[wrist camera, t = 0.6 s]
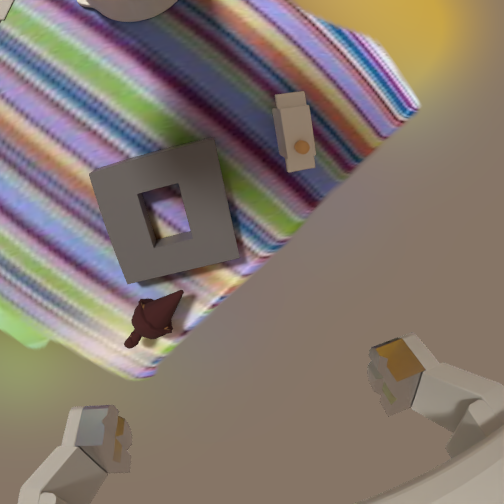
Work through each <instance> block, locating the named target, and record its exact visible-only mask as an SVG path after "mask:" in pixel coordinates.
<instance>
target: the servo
mask: <svg viewBox="0 0 504 504" xmlns="http://www.w3.org/2000/svg"><path fill="white" fill-rule="evenodd" d="M274 96H275V102H276V107H277V108H273V109H272V114H273V119H274V125H275V131H276V137H277V143H278V149H279V155H281V156H283V157H284V158H285V162H286V169H287V172H288V173H289V172H294V171H299V170H305V169H310V168H315V161H314V155H316V150H315V143H314V136H313V128H312V122H311V115H310V108H309V105H306V98H305V92H304V91H300V92H292V93H284V94H277V95H274Z"/></svg>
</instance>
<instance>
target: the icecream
mask: <svg viewBox="0 0 504 504" xmlns="http://www.w3.org/2000/svg"><path fill="white" fill-rule="evenodd" d="M183 293H184V292H183V290H180V291H177V292H174V293H172V294H170V295H167V296H164V297H162V298H159V299H157V300H152V299H140V301H139V305H138V306H137V307H136V309H135V312H134V315H133V317H132V325H133V326H134V328H135V329H134V331H133V332H132V333H131V335H130V336H129V337H128V339H127V340H126V341H125V343H124V345H125V347H127V348H129V349H130V348H133V347H135V346H136V345H137V344H138V343H139V341H140V339H141V337H145V338H149V339H156V338H158V337H160V336H163V335H165V334H167V333H172V329H173V328H172V322H171V319H172V316H173V314H174V312H175V310H176V308H177V306H178V303H179V301H180V299H181V297H182V295H183Z"/></svg>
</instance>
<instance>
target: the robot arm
mask: <svg viewBox="0 0 504 504" xmlns="http://www.w3.org/2000/svg"><path fill="white" fill-rule="evenodd" d="M176 1H177V0H77V2H78V3H79V5H81V6H84V7H89V8H94V9H96V10H98V11H99V12H100V13H101V14H103V15H104V16H106V17H108V18H110V19H113V20H116V21H121V22H135V21H141V20H145V19H149V18H151V17H154V16H156V15H158V14H160V13H162V12H164V11H165V10H167V9H168V8H170V7H171V6H172V5H173V4H174V3H175V2H176ZM369 357H370V359H371V360H372V361H371V362H370V363H369V365H368V370H367V373H368V379H369V382H370V385H371V387H372V389H373V391H374V392H376V393H378V394H380V395H381V398H380V403H381V405H382V406H383V408H384V410H385V412H386V414H387V415H388V416H391V415H393V414H396V413H398V412H401V411H403V410H406V409H408V408H411V409H413V410H414V411H416V412H418V413H419V414H421V415H423V416H425V417H426V418H428V419H430V420H432V421H433V422H435V423H437V424H439V425H440V426H442V427H444V428H446V429H448V430H449V431H451V432H453V435H452V436H451V438H450V440H449V441H448V443H447V445H446V450H447V452H448V453H449V455H450V457H451V459H450V460H448V461H447V462H445V463H443V464H441V465H439V466H437V467H435V468H434V469H432V470H430V471H428V472H426V473H424V474H422V475H420V476H418V477H416V478H414V479H412V480H410V481H408V482H405V483H403V484H401V485H399V486H397V487H394V488H392V489H390V490H387V491H385V492H383V493H380V494H378V495H375V496H373V497H370V498H368V499H365V500H362V501H360V502H357V503H354V504H504V386H503V385H502V384H500V383H498V382H495V381H492V380H489V379H487V378H484V377H481V376H479V375H476V374H473V373H470V372H468V371H465V370H463V369H460V368H457V367H454V366H452V365H449V364H447V363H441V364H440V363H439V362H438V361H437V360H436V358H435V357H434V356H433V354H432V353H431V352H430V351H429V350H428V348H427V347H426V346H425V345H424V344H423V343H422V341H421V340H420V339H419V338H418V336H417V335H416V334H415V333H413V332H411V333H409V334H407V335H404V336H401V337H399V338H395V339H392V340H390V341H387V342H384V343H382V344H379V345H377V346H374V347H371V349H370V350H369ZM118 413H119V411H118V409H117V408H116V407H115V406H114V405H101V406H83V407H72V409H71V410H70V412H69V416H68V420H67V424H66V428H65V432H64V437H63V441H62V445H61V446H58V447H57V448H56V449H55V450H54V451H53V452H52V453H51V455H50V456H49V457H48V458H47V459H46V460H45V461H44V462H43V463H42V464H41V466H40V467H39V468H38V469H37V470H36V471H35V472H34V473H33V475H32V476H31V477H30V478H29V479H28V480H27V481H26V482H25V483H24V485H23V486H22V487H21V490H20V495H19V500H18V504H90V503H91V501H92V500H93V498H94V496H95V495H96V493H97V492H98V490H99V488H100V487H101V485H102V484H103V482H104V480H105V479H106V477H107V476H108V474H107V473H128V472H130V463H131V455H130V454H129V452H128V451H127V450H128V449H129V447H130V446H131V445H132V434H131V429H130V426H129V424H128V422H127V421H126V420H125V419H124V418H122V417H120V416H118Z"/></svg>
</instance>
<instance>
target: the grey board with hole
mask: <svg viewBox="0 0 504 504" xmlns="http://www.w3.org/2000/svg"><path fill="white" fill-rule="evenodd" d="M89 176H90V179H91V183H92V186H93V189H94V192H95V196H96V199H97V202H98V205H99V208H100V211H101V214H102V217H103V220H104V223H105V226H106V229H107V231H108V234H109V237H110V240H111V243H112V245H113V248H114V251H115V253H116V256H117V259H118V261H119V264H120V266H121V269H122V272H123V274H124V277H125V279H126V281H127V284H131V283H135V282H139V281H143V280H148V279H152V278H156V277H161V276H165V275H169V274H173V273H178V272H182V271H186V270H190V269H195V268H199V267H203V266H207V265H212V264H216V263H220V262H224V261H229V260H233V259H237V258H240V257H239V252H238V247H237V243H236V238H235V234H234V229H233V225H232V220H231V215H230V211H229V206H228V201H227V197H226V192H225V187H224V183H223V178H222V173H221V169H220V164H219V159H218V154H217V150H216V145H215V140H214V138H213V137H211V138H207V139H202V140H198V141H194V142H189V143H185V144H181V145H177V146H173V147H169V148H166V149H162V150H158V151H154V152H151V153H147V154H144V155H140V156H137V157H133V158H130V159H126V160H123V161H120V162H117V163H113V164H110V165H107V166H104V167H101V168H98V169H95V170H94V171H92V172H91V173H89ZM176 183H178V184H179V188H180V191H181V195H182V199H183V203H184V207H185V211H186V214H187V218H188V222H189V226H190V229H191V231H190V232H185V233H181V234H177V235H173V236H169V237H165V238H161V239H157V240H156V238H155V235H154V232H153V228H152V225H151V222H150V219H149V215H148V212H147V209H146V205H145V202H144V198H143V195H142V192H146V191H150V190H153V189H157V188H161V187H165V186H168V185H172V184H176Z"/></svg>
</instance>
